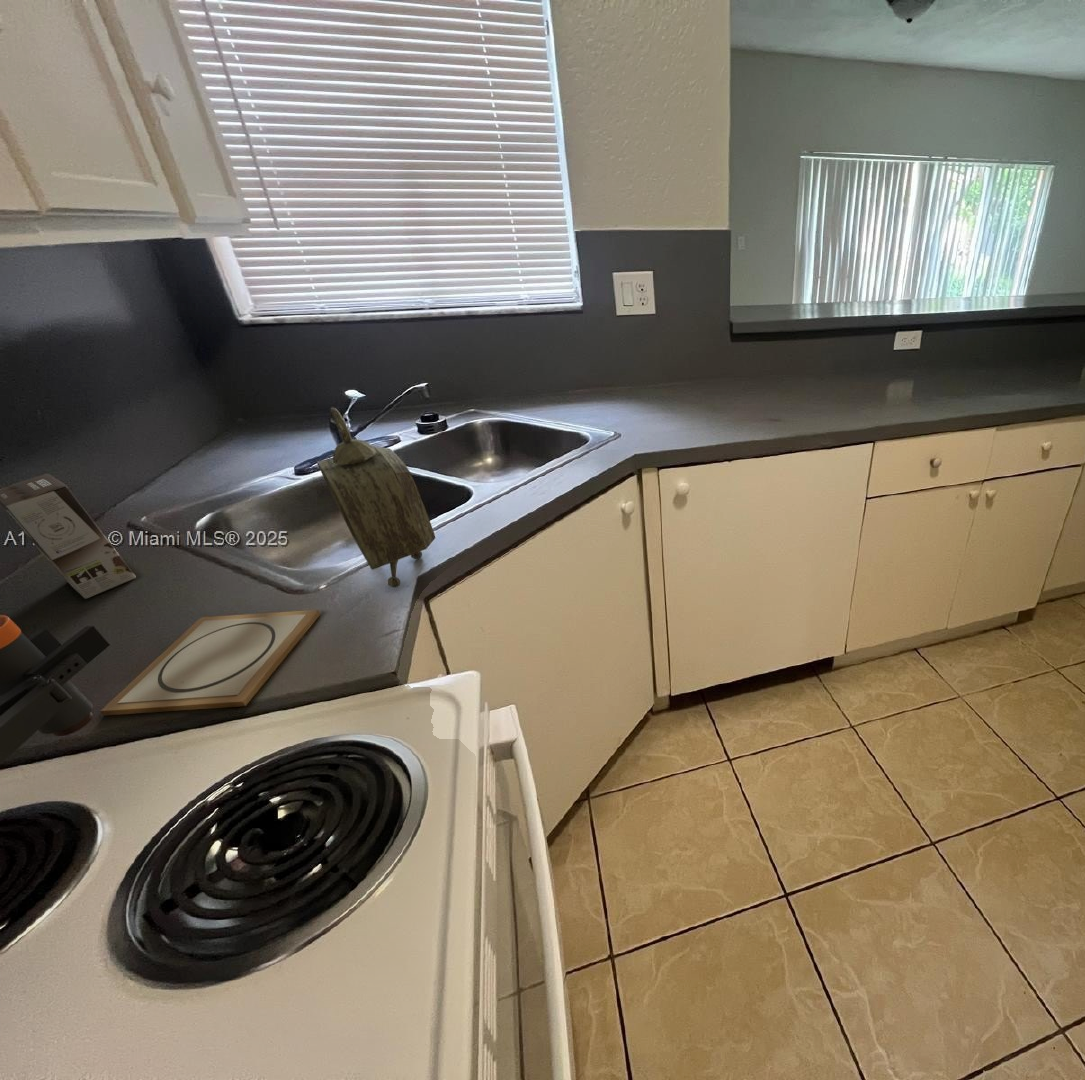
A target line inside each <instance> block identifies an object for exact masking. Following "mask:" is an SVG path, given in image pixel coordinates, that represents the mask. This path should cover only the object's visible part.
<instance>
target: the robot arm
mask: <svg viewBox="0 0 1085 1080" xmlns="http://www.w3.org/2000/svg"><path fill="white" fill-rule="evenodd" d="M26 638H27V639H28V640H29V641H30V642H31V643H32V644H33V645H34V646H35V647H36V648H37V649H38V650H39V651H40V652H41V653H42V654H43V655H44V656H45V658H44V659H43V660H41V661H40V662H39V663H38V664H36V665H35V666H34V667H32V668H31V669H30V670H28V671H27V672H26V673H25V674H24V675H25V676H26V677H27V678H28V679H27V680H25V681H24V682H22V683H21V684H19V685H17V686H16V687H14V688H13V689H11V690H10V691H8V692H7V693H5V694H4V695H2V696H1V697H0V765H1V764H2V763H4V762H5V761H6V760H7V759H8V758H9V757H10V756H11V755H12V754H13V753H15V752H16V751H17V750H18V749H19V748H20V747H21V746H22V745H24V744H25V743H26V742H27V741H28V740H29V739H30V738H31V737H32V736H33V735H35V733H36V732H39V729H40V728H41V727H42V726H43V725H44V724H45V723H46V722H48V721H49V720H50V719H51V718H52V717H53V716H54V715H55V714H56V713H57V712H59V711H60V710H61V709H62V708H63V707H64V706H65V705H66V704H67V703H68V702H70V700H71V699H72V697H71V696H70V695H69V694H68V693H67V692H66V691H65V690H64V689H63V688H62V687H61V686H63V685H64V684H65V683H66V682H67V681H68V680H69V681H70V680H71V679H72V678H73V677H75V675H77V674H79V672H81V671H82V670H83V669H84V668H85V667H86V666H87V665H88V664H89V663H90V662H92V661H93V660H94V659H95V658H97V657H98V656H99V655H100V654H102V653H103V652H104V651H105V650H107V648H108V647H110V646H111V644H110V643H109V642H108V641H107V640H106V638H105V637H104V636H103V635H102V634H101V633H100V632H99V630H98V629H96V627H95V626H94V625H86V626H84V627H83V628H82V629H81V630H79V631H78V632H76V633H75V634H73V636H71V637H70V638H68V639H67V640H66V641H65V642H63V643H62V644H61V642H60V641H59V640H58V639H57V638H56V637H55V636H54V635H53V634H52V633H51V632H50V631H49V630H48V629H47V628H38V629H37V630H36V631H35V632H33V633H32V634H30V635H29V636H26Z"/></svg>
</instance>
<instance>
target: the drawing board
mask: <svg viewBox="0 0 1085 1080" xmlns="http://www.w3.org/2000/svg"><path fill="white" fill-rule="evenodd" d="M321 615H322V614H321V611H320V609H308V610H306V609H305V610H294V611H278V612H277V611H276V612H275V611H274V612H262V613H247V614H245V613H244V614H232V615H217V616H215V615H214V616H202V617H199V619H198V620H196V621H195V622H194V623H193V624H192V625H191V626H190V627H189V628H188V629H187V630H186V631H185V632H184V633H182V634H181V635H180V636H179V637H178V638H177V639H176V640H175V641H174V642H172V644H171V645H170V646H169V647H168V648H166V649H165V650H164V651H162V653H161V654H160V655H159V656H158V657H156V659H155V660H153V661H152V662H151V663H150V664H149V665H148V666H147V667H146V668H144V669H143V670H142V672H140V673H139V674H138V675H137V676H136V677H135V678H134V679H133V680H132V681H130V682H129V684H127V686H125V687H124V688H123V689H122V690H121V691H120V692H119V693H118V694H116V696H115V697H114V698H112V699H111V700H110V701H109V702H108V703H107V704H106V705H105V706H103V708H102V709H101V710H100V711H99V712H100V713H101V714H102V715H103V716H105V717H107V716H118V715H120V716H121V715H133V714H135V715H137V714H150V713H161V712H162V713H164V712H178V711H194V710H207V709H222V708H223V709H224V708H235V707H236V708H238V707H247V705H248V704H249V703H250V702H251V701H252V699H253V698H254V696H256V695H257V693H258V692H259V690H261V688H262V687H263V686H264V684H265V683H266V682H267V681H268V679H269V678H270V677H271V676H272V675H273V673H274V672H275V671H276V670H277V669H278V667H279V666H280V665H281V664H282V662H283V661H284V660H285V659H286V657H287V656H288V655H289V654H290V652H291V651H292V650H293V649H294V647H295V646H296V645H298V643H299V641H301V639H302V638H303V637H304V636H305V634H306V633H307V632H308V630H309V629H310V628H311V627H312V626H313V624H314V623H315V622H316V621H317V620H318V618H319V617H320V616H321Z"/></svg>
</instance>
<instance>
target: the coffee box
mask: <svg viewBox="0 0 1085 1080" xmlns="http://www.w3.org/2000/svg"><path fill="white" fill-rule="evenodd" d="M0 507H1V509H2V510H3V511H4V512H5V513H6V514H7V515H8V516H9V517H10V519H11V520H12V521H13V522H14V523H15V524H16V525H17V526H18V528H19V529H20V530H21V531H22V532H23V533H24V535H25V536H26V537H27V539H29V540H30V541H31V543H32V544H33V545H34V546H35V548H36V549H38V551H39V552H40V553H41V554H42V555H43V557H45V559H46V560H47V561H48V562H49V563H50V564H51V565H52V566H53V568H54V569H55V570H56V571H57V572H58V573H59V574H60V576H61V577H62V578H63V579H64V580H65V581H66V582H67V583H68V584H69V585H70V586H71V587H72V588H73V589H74V590H75V591H76V592H77V593H78V594H79V595H80V596H81V597H83V599H85V600H86V599H89V598H91V597H94V596H96V595H98V594H102V593H103V592H107V591H108V590H110V589H114V588H116V587H118V586H120V585H122V584H125V583H127V582H128V583H129V582H130V581H133V580H134V579H136V578H137V576H136V574H135V573H134V571H132V569H131V568H130V567H129V565H128V564H127V563H126V562H125V559H123V557H122V556H121V555H120V554H119V552H118V551H117V550H116V549H115V547H114V546H113V544H112V543H111V541H109V539H108V538H107V536H106V535H105V534H104V532H102V530H101V528H99V526H98V525H97V524H96V522H95V521H94V520H93V518H92V517H91V516H90V514H89V513H88V512H87V510H86V509H85V508H84V506H83V505H82V504H81V503H80V502H79V500H78V499H77V498H76V496H75V495H74V494H73V492H72V490H70V488H69V487H68V485H67V484H65V483H63V482H62V481H60V480H59V479H57V478H56V477H54V476H52V475H51V474H49V473H45V474H42V475H41V474H40V475H37V476H35V477H31V478H28V479H24V480H22V481H19V482H16V483H12V484H10V485H8V486H5V487H2V488H0Z"/></svg>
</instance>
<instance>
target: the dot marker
mask: <svg viewBox="0 0 1085 1080" xmlns="http://www.w3.org/2000/svg"><path fill="white" fill-rule="evenodd" d="M21 629H22V628H20V627H19V626H18V625H17V624H16V623H15V622H14V621H13V620H12V619H11V618H10V617H9V616H8V615H5V614H3V615H2V614H0V697H1V696H2V695H4V694H5V693H7V692H8V691H10V690H11V689H13V688H14V687H16V686H17V685H19V684H21V683H22V682H24V681H25V680H27V679H28V678H27V677H26V676H25V675H24V674H25V673H26V672H27V671H28V670H30V669H31V668H32V667H34V666H35V665H36V664H38V663H39V662H40V661H41V660H43V659H44V658H45V656H44V655H43V654H42V653H41V652H40V651H39V650H38V649H37V648H36V647H35V646H34V645H33V644H32V643H31V642H30V641H29V640H28V639H27V636H26V635H25V634H24V633H23V632H22V630H21ZM61 687H62V688H63V689H64V690H65V691H66V692H67V693H68V694H69V695H70V696H71V697H72V699H71V700H70V702H68V703H67V704H66V705H65V706H64V707H63V708H62V709H61V710H60V711H59V712H57V713H56V714H55V715H54V716H53V717H52V718H51V719H50V720H49V721H48V722H46V723H45V724H44V725H43V726H42V727H41V728H40V729H39V730H38V732H40V734H44V735H52V734H53V735H54V736H56V737H64V736H68V735H72V734H73V733H76V732H77V731H79V730H81V729H83V728H84V727H86V726H87V725H88V724H89V723H91V721H92V720H93V718H94V714H93V712H92V711H93V709H94V704H93V703H92V701H90V700H89V699H88V698H87V697H86V696H85V694H83V693H82V692H81V690H79V689H78V688H77V687H76V685H74V684H73V682H71V681H70V680H68V681H67V682H66V683H65V684H64V685H63V686H61Z"/></svg>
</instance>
